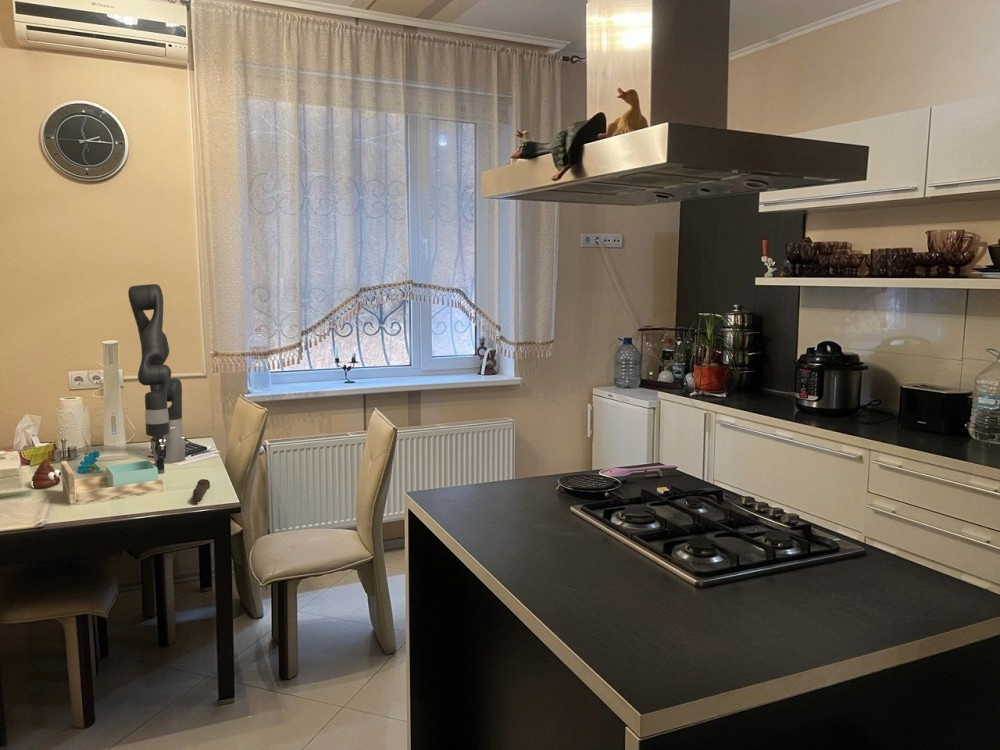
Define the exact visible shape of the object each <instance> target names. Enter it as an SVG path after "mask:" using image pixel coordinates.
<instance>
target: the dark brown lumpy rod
mask: <svg viewBox="0 0 1000 750" xmlns="http://www.w3.org/2000/svg"><path fill="white" fill-rule="evenodd" d="M210 488H211V482H210V481H209V479H203V478H201V479H199V480H198V481H197V484H196V485H195V488H194V489H193V491H192V492H193V494H192V495H193V497H192V499H193V503H194V502H195V503H194V504H197V503H198V502H200V501H201V500H202V501H203V497H204V496H205V494H206V492H207V490H209V489H210ZM202 501H201V502H202ZM201 502H200V503H201ZM197 505H198V504H197Z"/></svg>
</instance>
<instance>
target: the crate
mask: <svg viewBox="0 0 1000 750" xmlns="http://www.w3.org/2000/svg"><path fill="white" fill-rule="evenodd" d="M160 456H162V454H160ZM153 458H154V463H153V462H151V461H150V460H148V459H147V460H142V461H135V462H134V461H133V462H126V463H120V464H112V465H111V464H110V465H106V466H105V471H106V473H105V476H106V477H107V486H108V487H115V486H122V485H129V484H136V483H142V482H149V481H156V480H159V475H162V474H165V469H164V470H158V468H157V459H156V454H154V457H153Z"/></svg>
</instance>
